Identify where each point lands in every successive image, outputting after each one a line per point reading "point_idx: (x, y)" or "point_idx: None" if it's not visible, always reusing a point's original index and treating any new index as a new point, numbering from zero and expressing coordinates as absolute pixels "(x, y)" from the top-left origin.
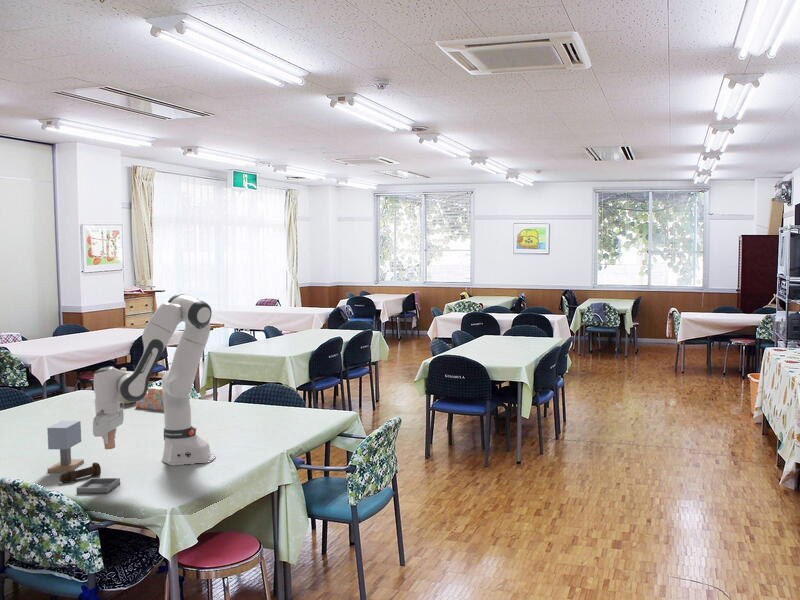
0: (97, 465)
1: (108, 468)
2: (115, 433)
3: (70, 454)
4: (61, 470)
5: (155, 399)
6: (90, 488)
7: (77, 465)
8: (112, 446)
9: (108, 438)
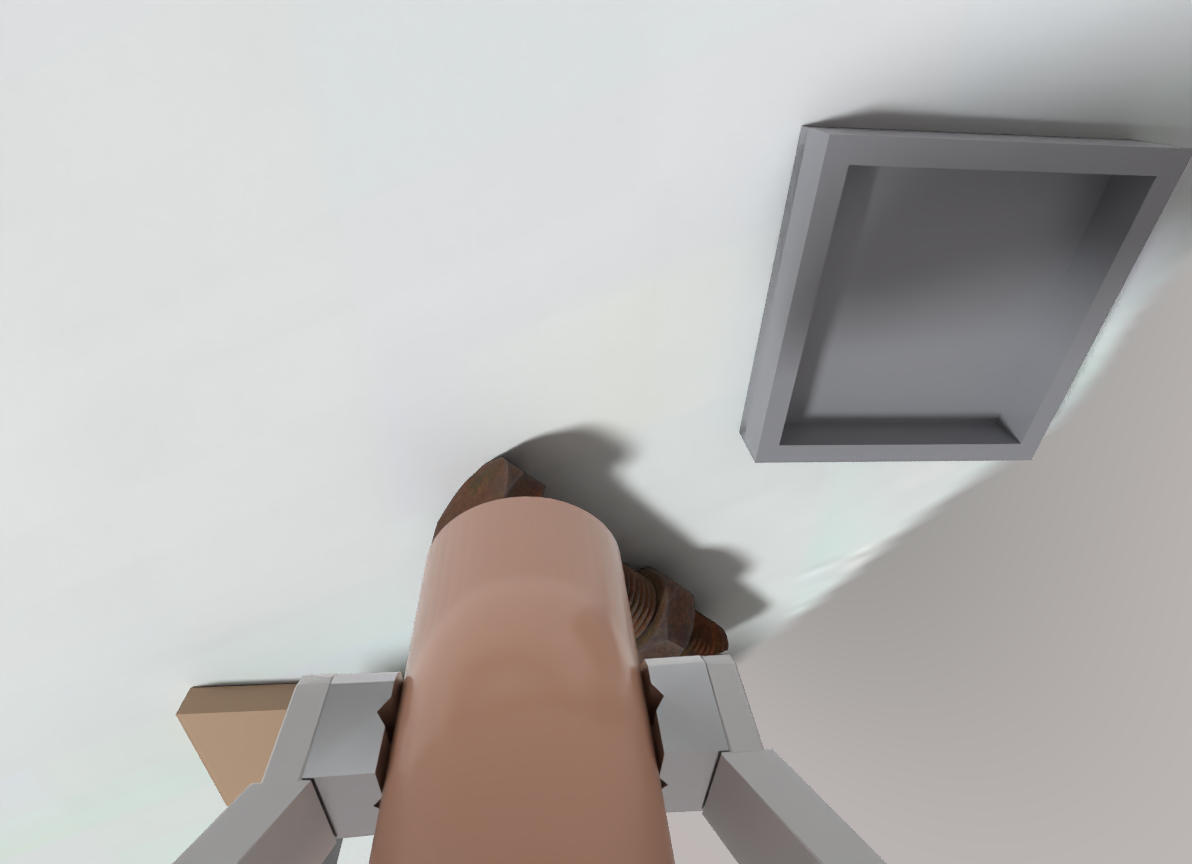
0: None
1: (275, 467)
2: (231, 814)
3: None
4: None
5: None
6: (1092, 337)
7: None
8: (587, 542)
9: (668, 765)
